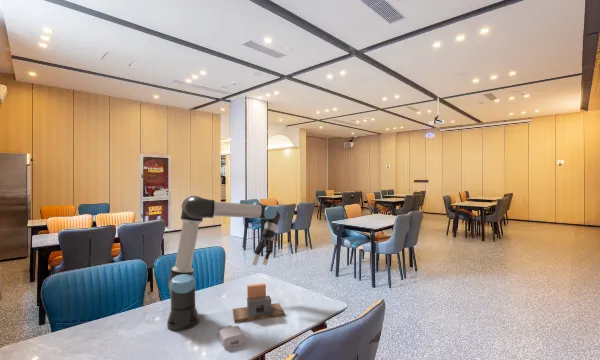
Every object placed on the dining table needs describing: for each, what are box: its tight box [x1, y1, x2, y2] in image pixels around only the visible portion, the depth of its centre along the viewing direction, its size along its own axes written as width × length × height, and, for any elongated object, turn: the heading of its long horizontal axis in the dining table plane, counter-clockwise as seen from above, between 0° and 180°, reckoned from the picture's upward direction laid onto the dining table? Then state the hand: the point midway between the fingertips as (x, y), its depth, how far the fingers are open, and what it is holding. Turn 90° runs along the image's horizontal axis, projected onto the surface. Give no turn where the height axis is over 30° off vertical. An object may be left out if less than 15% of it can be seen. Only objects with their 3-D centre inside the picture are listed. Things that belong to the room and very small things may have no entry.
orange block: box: [246, 282, 267, 308], centre depth 169 cm, size 10×9×12 cm
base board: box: [232, 302, 285, 324], centre depth 166 cm, size 26×14×2 cm, turn 106°
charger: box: [218, 325, 246, 349], centre depth 140 cm, size 5×9×15 cm
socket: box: [246, 295, 272, 318], centre depth 163 cm, size 12×6×8 cm, turn 106°
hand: (258, 264), depth 180 cm, fingers open, 13 cm apart
